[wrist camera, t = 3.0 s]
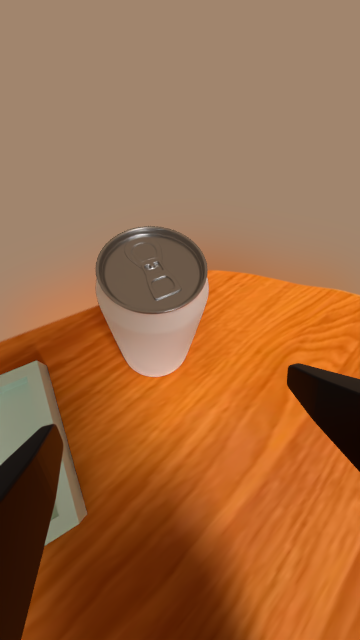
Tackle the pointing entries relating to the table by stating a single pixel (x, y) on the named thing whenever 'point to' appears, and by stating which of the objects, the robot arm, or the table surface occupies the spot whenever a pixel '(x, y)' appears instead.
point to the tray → (23, 421)
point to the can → (152, 296)
